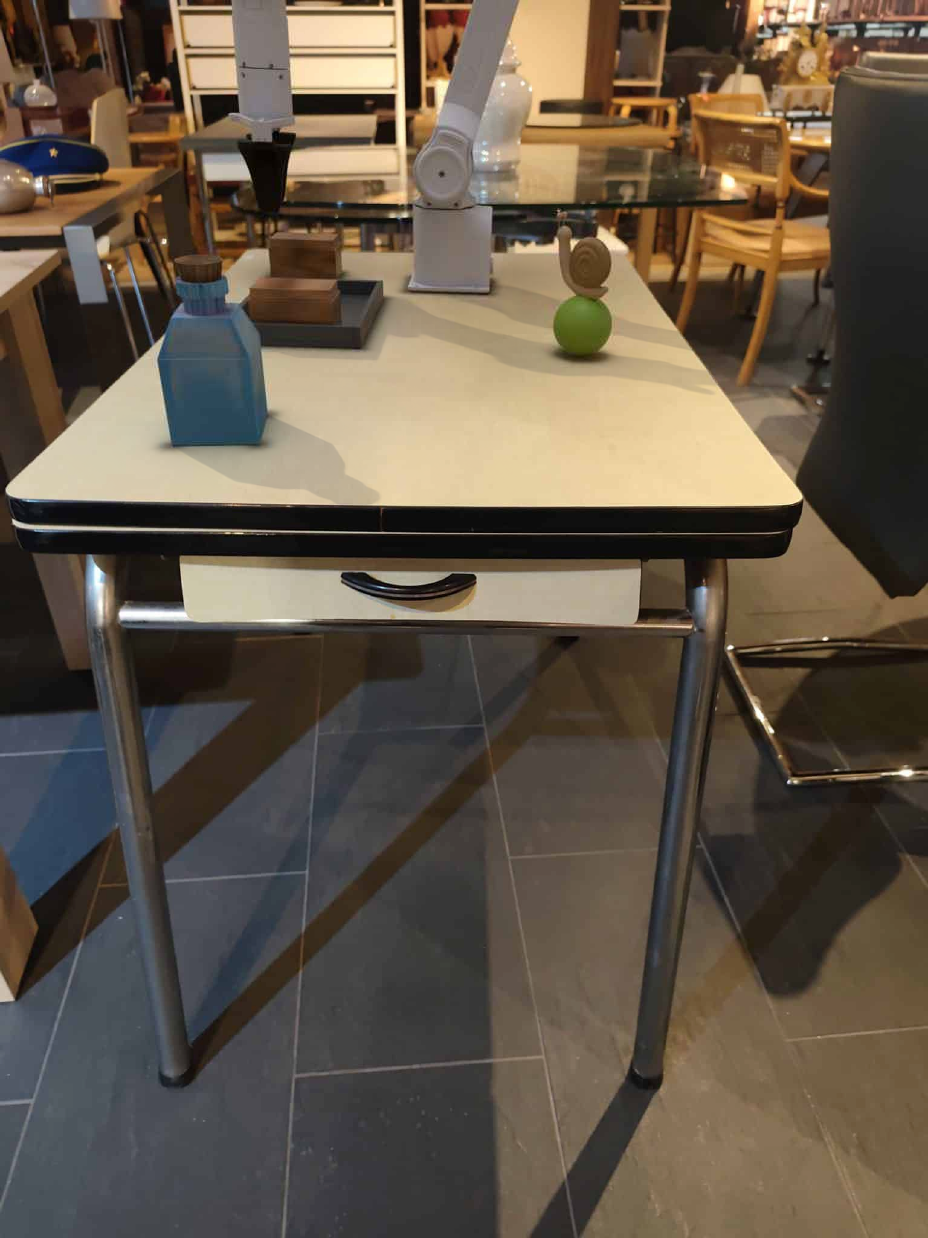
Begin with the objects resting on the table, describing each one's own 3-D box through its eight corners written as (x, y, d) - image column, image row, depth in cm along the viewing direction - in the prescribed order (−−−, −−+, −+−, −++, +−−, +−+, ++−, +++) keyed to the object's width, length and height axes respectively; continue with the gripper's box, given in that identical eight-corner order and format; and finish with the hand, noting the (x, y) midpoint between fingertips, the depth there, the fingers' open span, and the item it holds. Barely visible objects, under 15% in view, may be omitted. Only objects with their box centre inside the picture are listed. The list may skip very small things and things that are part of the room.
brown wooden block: (342, 326, 88) (339, 279, 86) (335, 339, 85) (332, 290, 82) (262, 324, 88) (257, 277, 86) (251, 336, 85) (246, 287, 82)
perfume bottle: (186, 414, 69) (160, 249, 62) (267, 413, 69) (250, 250, 62) (171, 445, 63) (141, 269, 57) (259, 444, 64) (239, 269, 57)
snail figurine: (568, 340, 88) (579, 208, 81) (620, 355, 84) (636, 217, 77) (531, 351, 84) (540, 214, 78) (583, 366, 81) (597, 224, 74)
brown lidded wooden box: (342, 272, 111) (340, 233, 108) (336, 280, 107) (334, 240, 104) (278, 270, 111) (275, 231, 108) (271, 278, 107) (267, 238, 105)
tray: (383, 298, 100) (383, 280, 99) (361, 348, 84) (360, 326, 83) (267, 295, 100) (265, 276, 99) (223, 344, 84) (220, 322, 83)
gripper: (233, 63, 100) (243, 195, 108) (216, 68, 88) (229, 216, 96) (296, 66, 101) (302, 197, 108) (287, 71, 89) (295, 218, 96)
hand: (272, 206), depth 102 cm, fingers open, 7 cm apart
